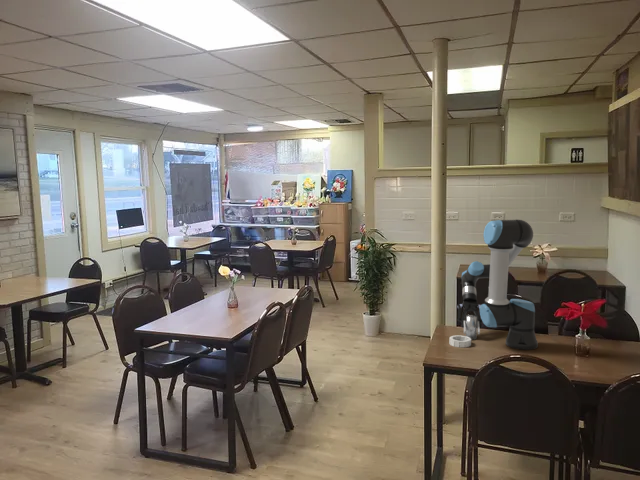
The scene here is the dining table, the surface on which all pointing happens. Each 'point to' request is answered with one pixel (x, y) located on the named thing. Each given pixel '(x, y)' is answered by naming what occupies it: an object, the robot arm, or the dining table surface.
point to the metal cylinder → (471, 326)
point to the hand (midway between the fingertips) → (471, 332)
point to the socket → (460, 341)
